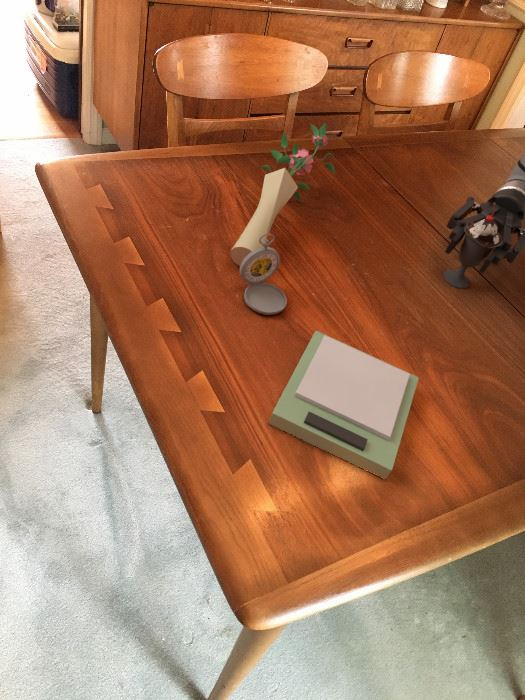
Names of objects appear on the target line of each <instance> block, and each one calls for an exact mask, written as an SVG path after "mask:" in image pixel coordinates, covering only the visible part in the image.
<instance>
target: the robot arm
mask: <svg viewBox="0 0 525 700" xmlns="http://www.w3.org/2000/svg"><path fill="white" fill-rule="evenodd" d="M522 153H523V154H522V155H521V157H520V158H519V160H518V161H517V162H516V164H515V165H514V168H513V169H512V171H511V172H510V173H509V176H508V177H507V179H506V180H505V181H504V183H503V184H502V185H500V187H499V188H498V189H497V190H496V191H495V192H494V193H493V194H492V195H491V197H490V198H488V200H487V201H486V202H482V203H477V202H476V201H475V198H474V197H473V196H468V197H467V199H466V200H465V203H464V204H463V205H462V206H460V208H458V209H457V210H456V211H455V212H454V213H453V214H452V215H451V217H450V219H449V220H448V222H447V224H446V228H447V229H449V230H451V232H450V233H449V235H448V239H449V240H450V242H449V244H448V245H447V247H446V249H445V250H444V253H445V254H447V255H450V253H452V252H453V250H454V249H455V248H456V247H457V246H458V245H459V243H460V242H461V241H462V240H464V238H465V236H466V233H465V232H464V229H465V226H466V225H467V223H469V222H470V223H471V222H474V223H477V222H478V221H480V220H484V219H485V218H486V217H487V216H488V215H492V213H493V211H494V205H493V203H495V204H496V205H495V213H494V215H493V218H494V221H495V222H496V224H497V232H498V233H499V234H500V236H501V238H502V242H503V244H502V245H501V246H498V247H495V248H494V249H493V250H492V251H491V252H490V253H489V254H488V256H487V257H486V258H485V261H484V262H483V264H482V266H480V269H479V270H478V273H481V274H482V275H483V274H484V272H485V271H487V269H488V267H489V266H490V265H491V264H493V265H495V266H498V265H499V264H500V263H501V262H502V260H503V259H506V261H507V262H508V263H509V264H513V263H514V262H515V261H516V259H517V258H518V257H519V255H520V253H521V252H522V251H523V249H524V246H525V228H524V227H523V225H524V224H523V223H524V221H525V151H524V152H522ZM474 212H476V214H474V215H472V216H469V215H471V214H472V213H474ZM468 216H469V217H468ZM516 234H517V239H516V242H515V244H514V246H513V243H511V239H512V238H511V236H512V235H516ZM512 246H513V247H512ZM511 247H512V248H511Z"/></svg>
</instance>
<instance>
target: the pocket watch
mask: <svg viewBox="0 0 525 700" xmlns="http://www.w3.org/2000/svg"><path fill="white" fill-rule="evenodd" d="M266 235H268V236H270V237H272V239H271V241H269V239H267V240H266V241H265V242H263V243H262V242H261V239H262V237H264V236H266ZM274 241H275V235H273V233H269V234H264V235H263V236H261V237H260V239H259V242H260V244H262V245H263V246H264V247H261V248H258V249H256V250H254V251H252V252H251V253H249V254H248V255H247V256H246V257H245V258H244V259H243V261H242V263H241V265H240V266H239V276H240V278H241V279H242V280H243V281H244V282H245V283H247V284H249V285H248V286H247V287H246V288H245V289H244V294H243V299H244V302H245V304H246V305H247V307H249V308H250V309H251V310H252V311H254V312H256V313H258V314H262V315H266V316H267V315H268V316H270V315H277V314H279V313H281V312H283V311H284V309H285V308H286V306H287V304H288V299H287V296H286V294H285V292H284V291H283V290H282V289H280V287H278V286H276V285H274V284H272V283H269V282H265V281H266V280H268V279H269V278H271V277H272V276H273V275H274V274H275V273H276V272H277V270H278V269H279V267H280V264H281V256H280V254H279V251H277V250H276V249H275V248H273V247H271V246H270V245H271V244H272V243H273V242H274ZM269 246H270V247H269Z"/></svg>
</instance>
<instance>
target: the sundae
mask: <svg viewBox="0 0 525 700" xmlns="http://www.w3.org/2000/svg"><path fill="white" fill-rule="evenodd" d="M493 205H494V211H493V213H492V215H488V216H487V217H486V218H485V219H484V220H480V221H478V222H477V223H474V222H471V223H470V222H469V223H467V225H466V226H465V229H464V232H465V235H464V238H463V242H462V244H461V245H460V249H459V251H458V254H457V256H458V259H459V262H460V265H459V268H458V269H447V270H445V271H444V272H443V279H444V281H445V282H446V283H447V284H448V285H450V286H452V287H454V288H457V289H467V288H468V287H469V286H470V280H469V278H468V277H467V276H466V275H465V272H466V271H467V269H468V268H474V267H477V266H479V265H480V264H481V263H483V261H484V260H486V259H487V258H488V256H489V255H490V254H491V253H492V251H493V250H494V249H495V248H496V247H498V246H501V245H502V244H503V242H502V238H501V236H500V234H499V233H498V232H497V224H496V222H495V221H494V218H493V215H494V213H495V205H496V204H495V203H493Z"/></svg>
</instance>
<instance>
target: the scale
mask: <svg viewBox="0 0 525 700" xmlns="http://www.w3.org/2000/svg"><path fill="white" fill-rule="evenodd" d="M419 378H420V377H419V376H417V375H414V374H412V373H411V372H408V371H406V370H404V369H401V368H399V367H397V366H395V365H394V364H391V363H388V362H386V361H384V360H382V359H380V358H377V357H375V356H373V355H371V354H369V353H367V352H364V351H362V350H360V349H358V348H355V347H353V346H351V345H349V344H346V343H345V342H342V341H340V340H338V339H336V338H334V337H331V336H329V335H327V334H325V333H323V332H321V331H318V330H315V331H314V333H313V334H312V336H311V339H310V340H309V342H308V344H307V346H306V348H305V349H304V352H303V354H302V355H301V357H300V358H299V361H298V363H297V365H296V367H295V369H294V370H293V373H292V375H291V376H290V378H289V380H288V382H287V383H286V386H285V388H284V389H283V391H282V393H281V395H280V396H279V399H278V401H277V403H276V405H275V406H274V408H273V410H272V413H271V415H270V417H269V420H268V423H267V424H268V425H271V426H272V427H275V428H276V429H278V430H280V431H282V432H284V431H285V433H286V432H287V433H286V434H289V435H291V434H292V435H291V436H293V437H295V436H296V437H295V438H297V439H299V440H301V439H302V440H301V441H303V442H305V443H307V444H309V445H311V446H313V447H315V446H316V448H317V447H318V448H317V449H319V450H322V451H324V450H325V451H324V452H326V451H327V452H326V453H328V452H329V453H328V454H330V453H331V454H330V455H332V454H333V455H332V456H334V455H335V456H334V457H336V456H337V457H336V458H338V457H340V458H342V459H344V460H346V461H348V462H349V463H348V462H347V463H348V464H351V463H352V464H351V465H353V464H354V465H353V466H355V467H357V466H358V467H357V468H359V467H360V468H359V469H361V468H363V469H365V470H368V471H370V472H372V473H375V474H377V475H379V476H380V477H383V478H384V479H385V480H387V478H388V477H389V475H390V474H391V473H392V471H393V468H394V465H395V462H396V458H397V455H398V452H399V448H400V445H401V442H402V437H403V435H404V431H405V427H406V424H407V422H408V421H407V420H408V417H409V414H410V410H411V407H412V403H413V400H414V396H415V393H416V390H417V386H418V382H419ZM340 458H339V459H340ZM342 459H341V460H342ZM344 460H343V461H344ZM346 461H345V462H346ZM363 469H362V470H363ZM365 470H364V471H365ZM384 479H383V480H384Z"/></svg>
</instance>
